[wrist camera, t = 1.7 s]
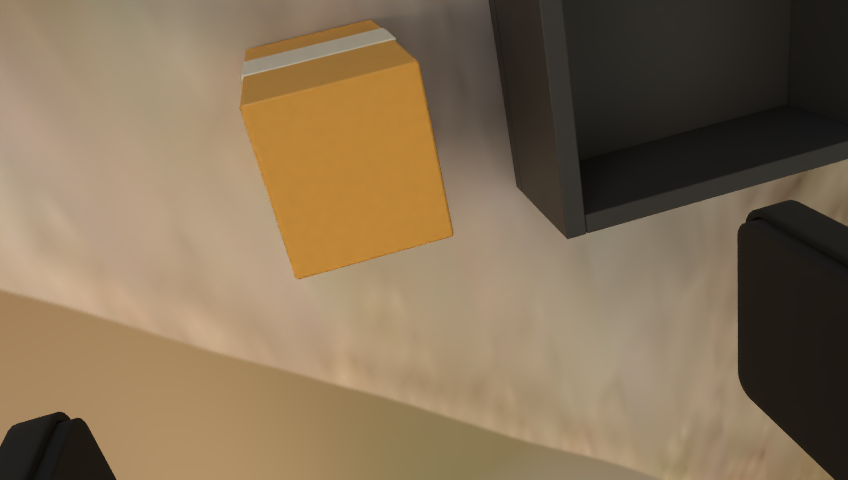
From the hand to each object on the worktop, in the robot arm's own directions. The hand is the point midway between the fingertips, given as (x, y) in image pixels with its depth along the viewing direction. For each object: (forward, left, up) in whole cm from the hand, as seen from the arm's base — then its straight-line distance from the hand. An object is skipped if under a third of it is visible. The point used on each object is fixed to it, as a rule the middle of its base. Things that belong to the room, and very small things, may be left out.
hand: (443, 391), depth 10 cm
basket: (+1, +14, -20) cm, 25 cm away
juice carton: (+1, 0, -20) cm, 20 cm away
